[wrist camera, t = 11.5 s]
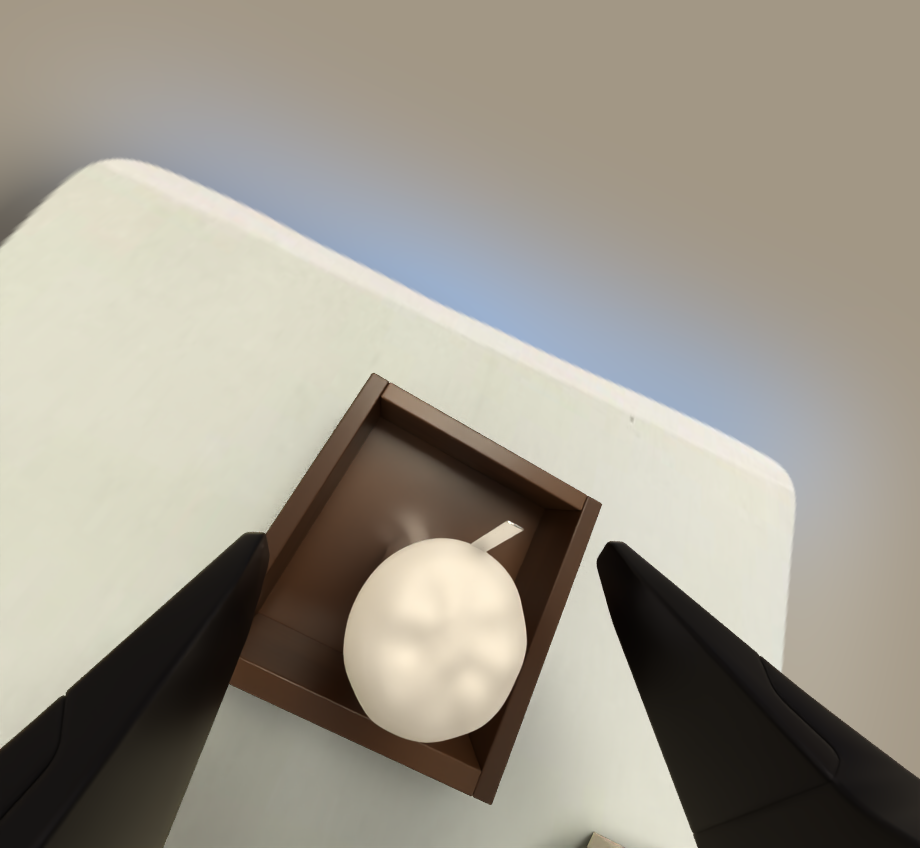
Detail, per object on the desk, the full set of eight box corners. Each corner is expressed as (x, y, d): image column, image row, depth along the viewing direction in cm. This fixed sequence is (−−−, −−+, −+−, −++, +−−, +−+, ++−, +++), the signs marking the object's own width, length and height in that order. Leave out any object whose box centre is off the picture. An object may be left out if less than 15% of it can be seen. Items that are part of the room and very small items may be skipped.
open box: (557, 502, 19) (602, 503, 15) (464, 728, 16) (491, 806, 12) (375, 399, 18) (372, 371, 14) (235, 617, 15) (180, 662, 11)
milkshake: (481, 530, 17) (602, 569, 8) (432, 638, 16) (508, 853, 6) (402, 488, 17) (427, 477, 7) (344, 595, 15) (280, 757, 6)
